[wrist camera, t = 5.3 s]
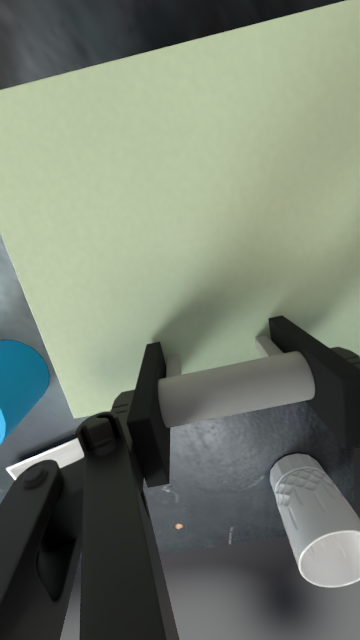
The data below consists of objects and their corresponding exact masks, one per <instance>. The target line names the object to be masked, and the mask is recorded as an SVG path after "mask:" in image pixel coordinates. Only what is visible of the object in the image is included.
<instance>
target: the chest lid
mask: <svg viewBox="0 0 360 640" xmlns="http://www.w3.org/2000/svg"><path fill="white" fill-rule="evenodd" d="M0 234H1V237H2V239H3V242H4V244H5V247H6V249H7V252H8V254H9V257H10V259H11V262H12V264H13V267H14V269H15V272H16V274H17V277H18V279H19V282H20V284H21V287H22V289H23V292H24V294H25V297H26V299H27V302H28V304H29V307H30V309H31V312H32V314H33V317H34V319H35V322H36V324H37V327H38V330H39V332H40V335H41V337H42V340H43V342H44V345H45V347H46V350H47V352H48V355H49V357H50V360H51V362H52V365H53V367H54V370H55V372H56V375H57V377H58V380H59V382H60V385H61V387H62V390H63V392H64V395H65V397H66V400H67V402H68V405H69V407H70V410H71V412H72V415H73V417H74V419H75V418H80V417H85V416H90V415H95V414H97V413H101V412H105V411H111V409H112V405H113V403H114V400H115V399H116V398H117V396H118V395H119V394H120V393H121V392H125V391H130V390H134V389H135V387H136V383H137V379H138V376H139V372H140V368H141V364H142V360H143V356H144V352H145V349H146V345H147V344H150V343H155V342H160V344H161V347H162V351H163V355H164V359H165V363H166V378H163V379H159V380H158V399H159V405H160V411H161V415H162V419H163V422H164V424H165V426H166V427H167V428H170V427H175V426H180V425H185V424H190V423H195V422H200V421H205V420H210V419H215V418H220V417H225V416H230V415H235V414H240V413H245V412H250V411H255V410H260V409H265V408H270V407H275V406H280V405H285V404H290V403H295V402H300V401H305V400H310V399H312V398H313V397H314V395H315V383H314V378H313V375H312V372H311V369H310V367H309V364H308V362H307V361H306V359H305V357H304V356H303V355H302V354H301V353H300V352H298V351H293V352H289V353H283V352H282V351H281V350H280V349H279V348H278V347H277V346H276V345H275V344H274V343H273V342H272V340H271V335H270V327H269V319H268V318H272V317H277V316H284V317H285V318H287V319H288V320H290V321H291V322H293V323H294V324H295V325H297V326H298V327H300V328H301V329H303V330H304V331H306V332H307V333H308V334H310V335H311V336H313V337H314V338H316V339H317V340H318V341H320V342H321V343H323V344H324V345H326V346H327V347H329V348H333V347H341V348H344V349H348V350H351V351H352V352H354V353H356V354H357V355H359V357H360V0H346V1H342V2H338V3H334V4H330V5H327V6H323V7H319V8H315V9H311V10H307V11H303V12H300V13H296V14H292V15H288V16H284V17H280V18H276V19H273V20H269V21H265V22H261V23H257V24H253V25H249V26H246V27H242V28H238V29H234V30H230V31H226V32H222V33H219V34H215V35H211V36H207V37H203V38H199V39H195V40H191V41H188V42H184V43H180V44H176V45H172V46H168V47H164V48H161V49H157V50H153V51H149V52H145V53H141V54H137V55H134V56H130V57H126V58H122V59H118V60H114V61H110V62H107V63H103V64H99V65H95V66H91V67H87V68H83V69H80V70H76V71H72V72H68V73H64V74H60V75H56V76H53V77H49V78H45V79H41V80H37V81H33V82H29V83H25V84H22V85H18V86H14V87H10V88H6V89H2V90H0Z"/></svg>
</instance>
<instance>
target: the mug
mask: <svg viewBox="0 0 360 640" xmlns="http://www.w3.org/2000/svg"><path fill="white" fill-rule="evenodd" d="M48 383H49V373H48V369H47V365H46V364H45V362H44V360H43V359H42V357H41V356H40V355H39V354H38V353H37V352H36V351H35V350H33V349H32V348H31V347H29V346H27V345H25V344H23V343H21V342H16V341H11V340H2V341H0V445H1V444H2V443H3V441H4V440H5V439H6V438H7V437H8V435H9V434H10V433H11V432H12V431H13V430H14V428H15V427H16V426H17V425H18V424H19V423H20V421H21V420H22V419H23V418H24V417H25V415H26V414H27V413H28V412H29V411H30V410H31V408H32V407H33V406H34V405H35V404H36V402H37V401H38V400H39V399H40V398H41V397H42V395H43V394H44V392H45V391H46V389H47V387H48Z"/></svg>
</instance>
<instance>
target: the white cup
mask: <svg viewBox="0 0 360 640" xmlns="http://www.w3.org/2000/svg"><path fill="white" fill-rule="evenodd" d="M270 483H271V485H272V488H273V491H274V494H275V497H276V501H277V505H278V508H279V511H280V514H281V518H282V521H283V524H284V527H285V530H286V533H287V536H288V539H289V541H290V544H291V547H292V550H293V553H294V556H295V559H296V562H297V565H298V568H299V571H300V573H301V575H302V576H303V577H304V578H305V579H306V580H307V581H309V582H310V583H312V584H314V585H318V586H322V587H341V586H345V585H349V584H352V583H355V582H357V581H359V580H360V518H359V517H358V516H357V514H356V512H355V511H354V510H353V508H352V507H351V505H350V504H349V503H348V501H347V500H346V499H345V497H344V496H343V495H342V493H341V492H340V491H339V490H338V488H337V487H336V485H335V484H334V483H333V481H332V480H331V479H330V478H329V477H328V476H327V474H326V473H325V471H324V470H323V469H322V467H321V466H320V464H319V463H318V462H317V461H316V460H315V459H313V458H312V457H311V456H309V455H305V454H299V453H297V454H292V455H287V456H285V457H283V458H282V459H280V460H278V461H277V462H276V463H275V465H274V466H273V467H272V469H271V471H270Z"/></svg>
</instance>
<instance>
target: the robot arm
mask: <svg viewBox="0 0 360 640" xmlns="http://www.w3.org/2000/svg"><path fill="white" fill-rule="evenodd" d="M268 319H269V327H270V335H271V340H272V342H273V343H274V344H275V345H276V346H277V347H278V348H279V349H280V350H281V351H282V352H283V353H289V352H293V351H298V352H300V353H301V354H302V355H303V356H304V357H305V359H306V361H307V362H308V364H309V367H310V369H311V372H312V375H313V378H314V383H315V395H314V397H313V398H312V399H310V400H305V402H306V403H307V404H308V405H309V406H310V408H311V409H312V410H313V411H314V413H315V414H316V415H317V416H318V417H319V419H320V420H321V421H322V422H323V424H324V425H325V426H326V427H327V428H328V430H329V431H330V432H331V433H332V435H333V436H334V437H335V438H336V440H337V441H338V442H339V443H340V444H341V446H342V447H343V448H344V449H345V450H348V449H353V448H359V447H360V357H359V355H357V354H356V353H354V352H352V351H351V350H348V349H344V348H341V347H333V348H329V347H327V346H326V345H324V344H323V343H321V342H320V341H318V340H317V339H316V338H314V337H313V336H311V335H310V334H308V333H307V332H306V331H304V330H303V329H301V328H300V327H298V326H297V325H295V324H294V323H293V322H291V321H290V320H288V319H287V318H285V317H284V316H277V317H272V318H268ZM163 378H166V363H165V359H164V355H163V351H162V347H161V344H160V342H155V343H150V344H147V345H146V349H145V352H144V356H143V360H142V364H141V368H140V372H139V376H138V379H137V383H136V387H135V389H134V390H130V391H125V392H121V393H120V394H119V395H118V396H117V398H116V399H115V400H114V403H113V405H112V409H111V411H105V412H101V413H97V414H95V415H93V416H91V417H89V418H87V419H86V420H85V421H83V422H82V423H81V425H80V426H79V427H78V428H77V431H76V436H77V438H78V441H79V443H80V446H81V448H82V450H83V453H84V457H83V458H81V459H79V460H78V461H76V462H73V463H71V464H69V465H66V466H64V467H62V468H59V465H58V463H57V461H55V460H52V459H49V460H43V461H40V462H38V463H35V464H33V465H32V466H30V467H28V468H27V469H26V470H25V471H24V472H22V473H21V474H20V475H19V476H18V477H17V479H16V480H15V481H14V483H13V484H12V486H11V488H10V489H9V491H8V493H7V494H6V496H5V498H4V499H3V501H2V503H1V504H0V640H60V637H61V632H62V628H63V624H64V620H65V616H66V612H67V608H68V603H69V599H70V595H71V591H72V587H73V583H74V579H75V575H76V571H77V566H78V562H79V558H80V554H81V550H82V564H81V604H80V607H81V608H80V640H179V637H178V633H177V628H176V624H175V620H174V615H173V611H172V607H171V603H170V598H169V594H168V590H167V586H166V582H165V578H164V573H163V569H162V565H161V561H160V556H159V552H158V548H157V544H156V539H155V535H154V531H153V527H152V523H151V518H150V514H149V510H148V506H147V501H146V497H145V494H144V492H143V489H142V488H143V480H144V478H145V481H146V484H147V487H148V488H149V487H154V486H160V485H165V484H169V467H170V428H167V427H166V426H165V424H164V422H163V419H162V415H161V411H160V405H159V399H158V380H159V379H163Z"/></svg>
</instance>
